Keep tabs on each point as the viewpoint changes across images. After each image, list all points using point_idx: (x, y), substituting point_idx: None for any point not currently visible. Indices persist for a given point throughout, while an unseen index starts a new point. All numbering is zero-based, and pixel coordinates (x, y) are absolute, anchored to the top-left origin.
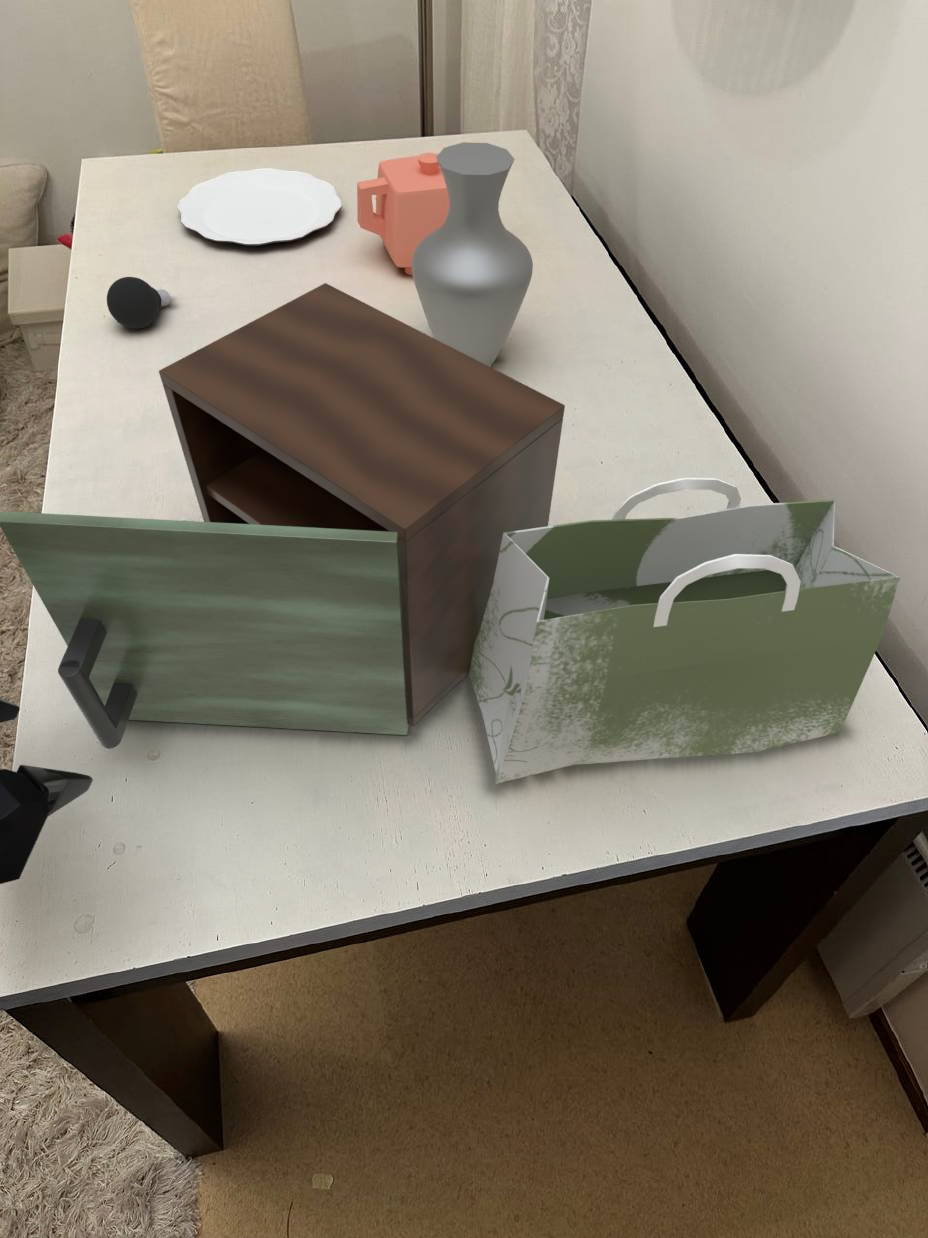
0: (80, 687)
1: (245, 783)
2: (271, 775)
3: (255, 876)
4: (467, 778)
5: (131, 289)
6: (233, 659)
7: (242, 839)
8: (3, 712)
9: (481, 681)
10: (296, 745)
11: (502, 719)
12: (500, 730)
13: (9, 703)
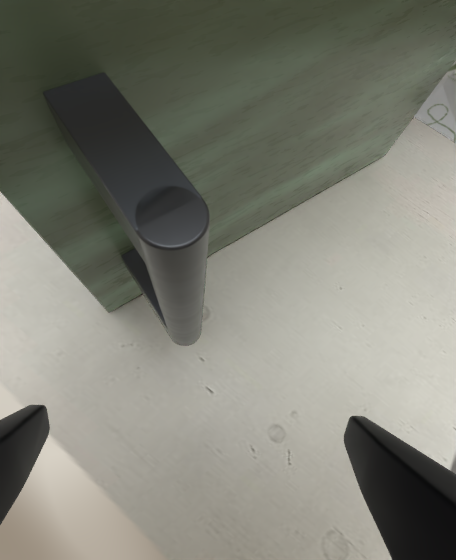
0: (205, 259)
1: (315, 276)
2: (327, 254)
3: (418, 348)
4: (452, 161)
5: None
6: (315, 101)
7: (371, 326)
8: (21, 451)
9: None
10: (317, 215)
11: (442, 101)
12: (446, 111)
13: (18, 420)
